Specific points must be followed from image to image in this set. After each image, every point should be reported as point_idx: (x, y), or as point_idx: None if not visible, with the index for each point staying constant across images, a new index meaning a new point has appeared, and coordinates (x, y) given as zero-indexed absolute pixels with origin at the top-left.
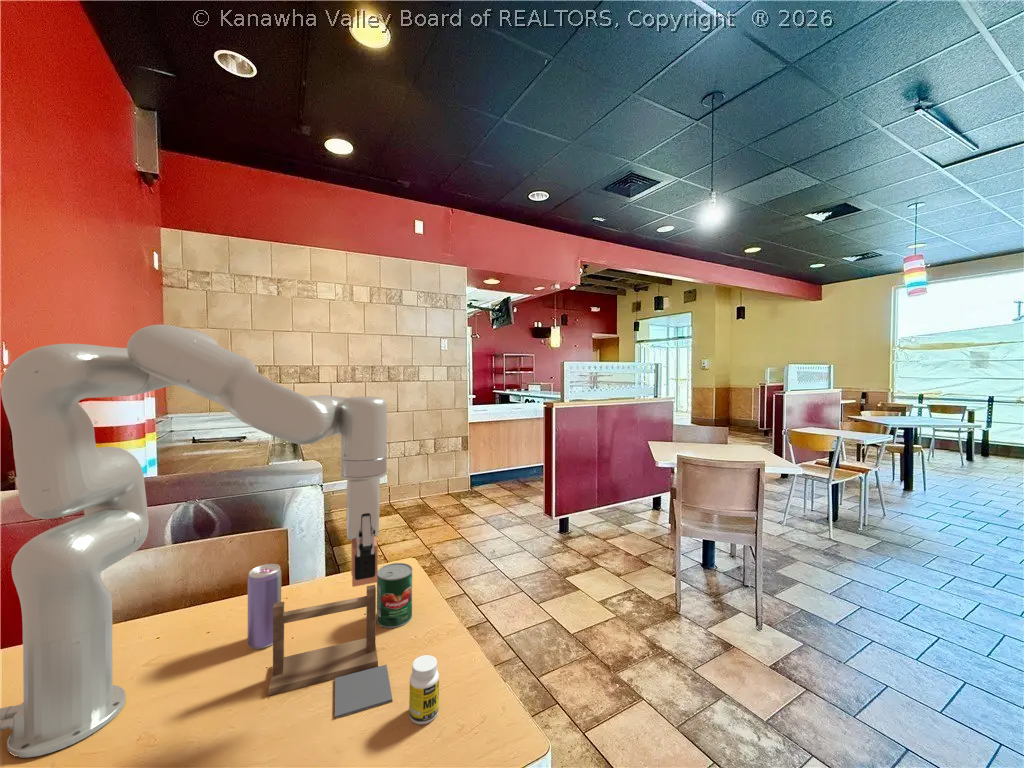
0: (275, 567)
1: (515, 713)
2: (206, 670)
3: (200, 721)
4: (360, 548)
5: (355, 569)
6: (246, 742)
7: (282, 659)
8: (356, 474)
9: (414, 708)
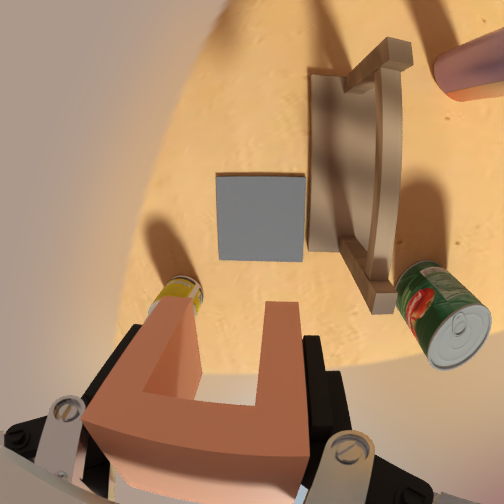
0: None
1: None
2: (402, 5)
3: (290, 4)
4: (11, 433)
5: (115, 350)
6: (221, 63)
7: (351, 88)
8: None
9: (164, 287)
